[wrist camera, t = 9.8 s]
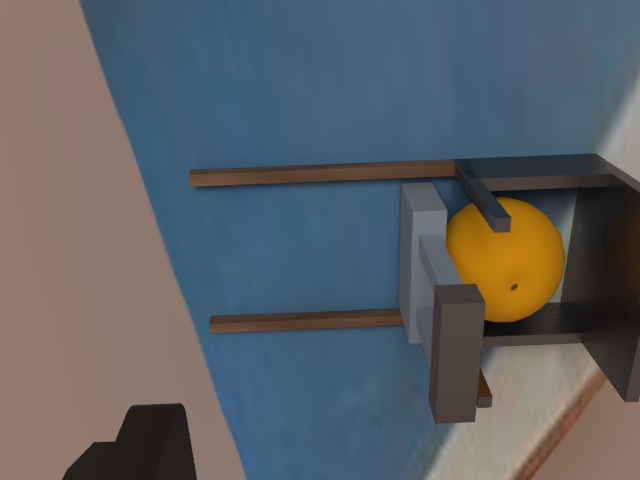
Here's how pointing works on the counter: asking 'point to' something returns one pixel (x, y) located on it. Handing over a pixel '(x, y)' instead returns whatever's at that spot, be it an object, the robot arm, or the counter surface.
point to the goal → (574, 260)
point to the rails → (314, 175)
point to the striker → (439, 306)
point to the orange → (508, 259)
